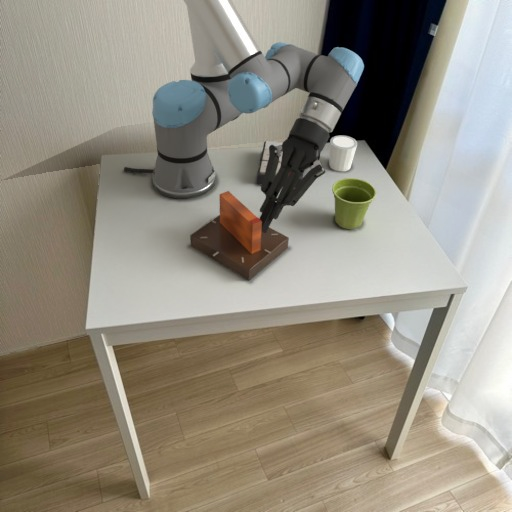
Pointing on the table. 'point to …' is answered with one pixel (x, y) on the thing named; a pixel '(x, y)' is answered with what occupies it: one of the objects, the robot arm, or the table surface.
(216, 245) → the dial panel
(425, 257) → the table surface
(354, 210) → the plant pot
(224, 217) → the pointer
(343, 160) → the white fluted cup
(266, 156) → the calculator
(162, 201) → the table surface
